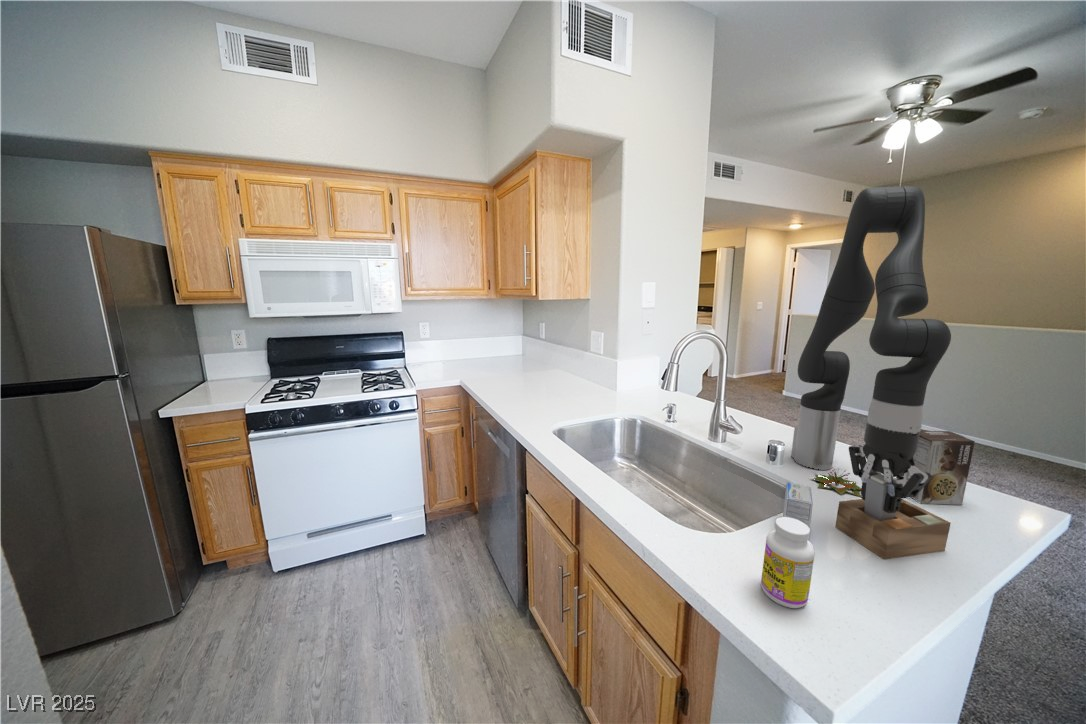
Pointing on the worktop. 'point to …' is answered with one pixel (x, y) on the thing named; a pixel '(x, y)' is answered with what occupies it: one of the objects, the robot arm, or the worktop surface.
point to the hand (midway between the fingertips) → (878, 505)
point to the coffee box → (943, 466)
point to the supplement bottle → (788, 563)
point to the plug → (877, 498)
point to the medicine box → (798, 503)
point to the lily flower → (838, 481)
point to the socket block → (894, 529)
